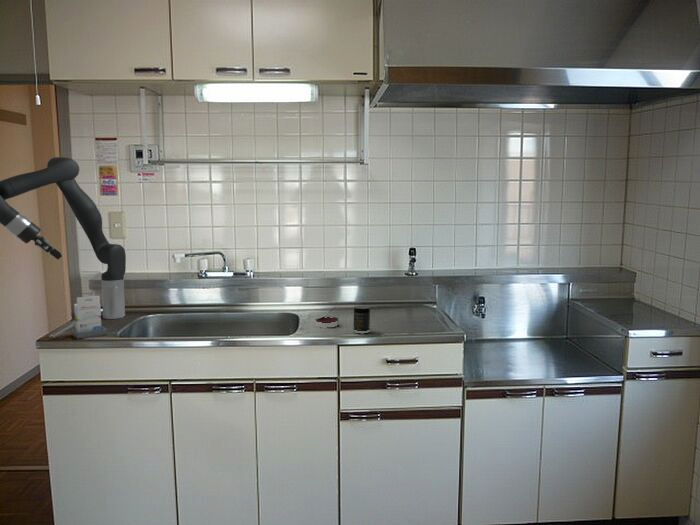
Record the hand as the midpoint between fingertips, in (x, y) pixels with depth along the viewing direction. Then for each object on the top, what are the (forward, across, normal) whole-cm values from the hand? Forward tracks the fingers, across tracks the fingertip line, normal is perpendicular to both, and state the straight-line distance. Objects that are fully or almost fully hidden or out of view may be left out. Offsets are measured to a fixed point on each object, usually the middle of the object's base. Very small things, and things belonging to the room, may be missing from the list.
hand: (59, 256), depth 208 cm
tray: (+27, -11, +16) cm, 33 cm away
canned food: (+92, -39, -46) cm, 110 cm away
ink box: (+26, -11, +16) cm, 32 cm away
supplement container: (+96, -58, -51) cm, 123 cm away
